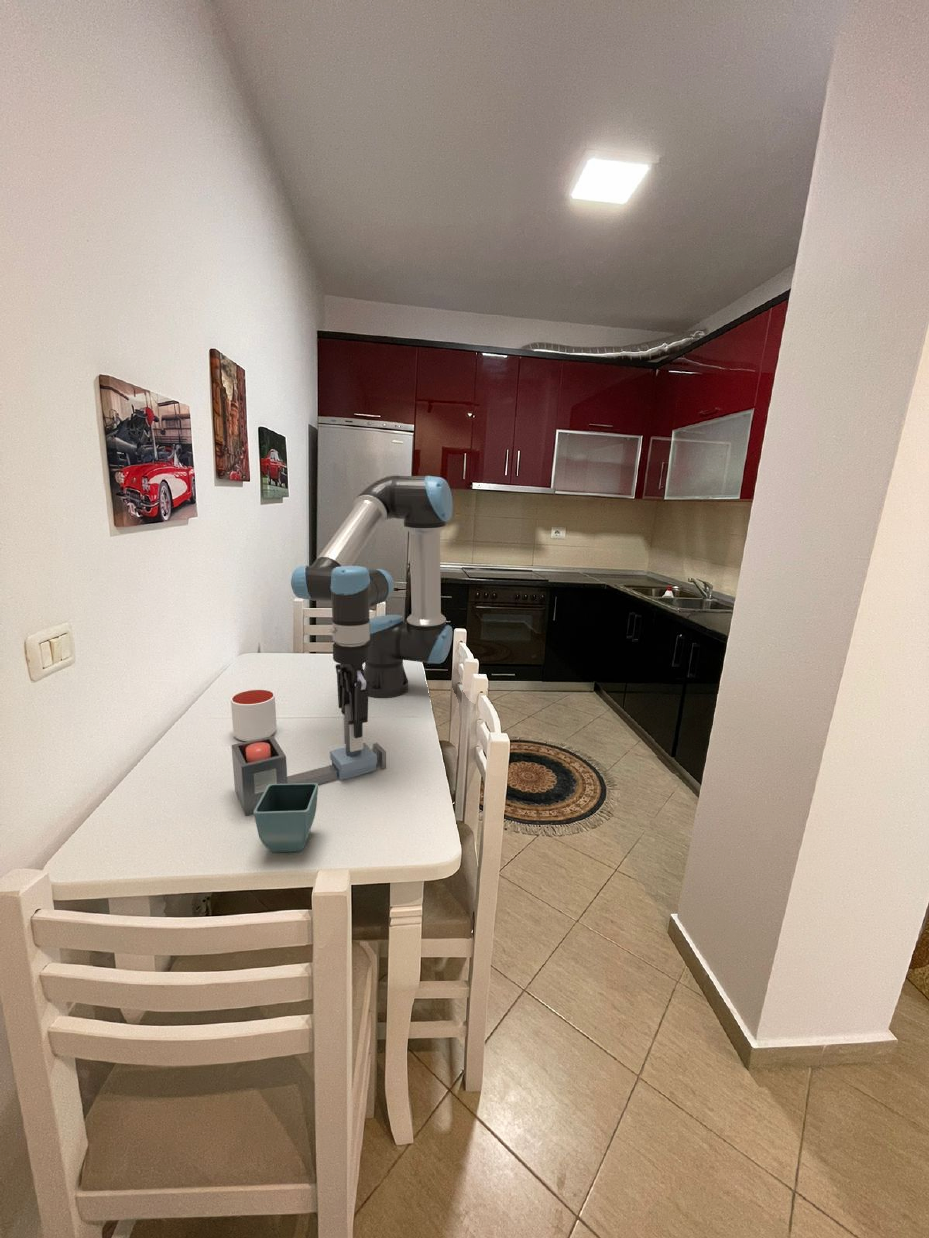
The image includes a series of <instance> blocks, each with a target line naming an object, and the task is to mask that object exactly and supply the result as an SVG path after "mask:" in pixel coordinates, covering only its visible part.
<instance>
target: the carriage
mask: <svg viewBox="0 0 929 1238" xmlns="http://www.w3.org/2000/svg"><path fill="white" fill-rule="evenodd" d="M348 721H351V711H350V704H346V705H345V740H346V744H345V746H344V747H340V748H337V749H333V750H329V757H330V758H329V759H330V761H331V765H333V764H334V765H335V766H336V767H337V768H338V770H339V779H338V780H339V781H342V780H347V779H350V778H355V777H357V776H360V775H363V774H367V773H372V772H375V771H376V769H375V764H376V765H377V755H376V754H375V753H374V752H373V749H372V748H370V747H369V746H368V745H367V744H366V742H363V749H361V750H357V751H353V752H351V751H350V728H349V724H348Z"/></svg>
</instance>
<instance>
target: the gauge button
mask: <svg viewBox="0 0 929 1238" xmlns="http://www.w3.org/2000/svg"><path fill="white" fill-rule="evenodd" d="M267 758H271V753H270V745H269V744H268V743H264V742H259V743H254V744H251V745H249V746H248V747H247V748H246V760H247V763H250V762H254V761H258V760H262V759H267Z"/></svg>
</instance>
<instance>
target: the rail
mask: <svg viewBox="0 0 929 1238" xmlns="http://www.w3.org/2000/svg"><path fill="white" fill-rule="evenodd" d="M372 751H373V752H374V753H375V754H376V755H377V764H375V770H376V769H377V765H378V767H379V768H380V769H381V770H385V769H387V751H386V750H385V749H384V748H383V747H382V746H381V745H380V744H379V743H378V742H374V743H372ZM336 780H340V779H339V770H338V768H337V767H336V766H335V765H334V764H333V765H332V764H330V765H327V766H326V765H325V766H322V767H318V768H315V769H310V770H307V771H303V772H299V773H296V774H292V775H287V782H288V784H294V783H295V784H296V783H318V786H319V785H322V784H326V783H329V782H334V781H336Z"/></svg>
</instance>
